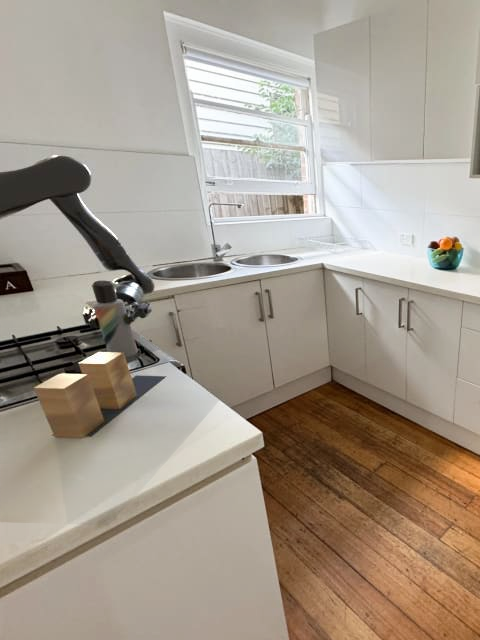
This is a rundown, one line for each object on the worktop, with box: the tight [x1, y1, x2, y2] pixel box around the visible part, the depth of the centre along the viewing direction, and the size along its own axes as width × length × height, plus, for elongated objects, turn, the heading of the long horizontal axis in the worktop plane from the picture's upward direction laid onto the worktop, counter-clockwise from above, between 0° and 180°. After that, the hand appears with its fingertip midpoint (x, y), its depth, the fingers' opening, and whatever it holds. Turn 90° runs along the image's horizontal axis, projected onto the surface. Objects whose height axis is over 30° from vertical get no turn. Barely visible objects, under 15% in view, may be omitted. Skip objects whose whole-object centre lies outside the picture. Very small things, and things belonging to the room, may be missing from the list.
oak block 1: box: [33, 373, 104, 439], centre depth 67 cm, size 5×5×10 cm
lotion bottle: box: [91, 280, 140, 364], centre depth 91 cm, size 6×6×20 cm
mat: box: [51, 375, 167, 438], centre depth 77 cm, size 22×7×1 cm, turn 0°
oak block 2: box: [78, 351, 137, 409], centre depth 75 cm, size 5×5×10 cm
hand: (111, 322), depth 88 cm, fingers closed on lotion bottle, 5 cm apart
